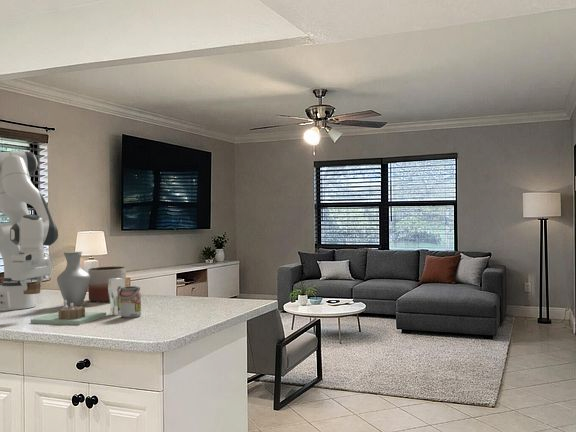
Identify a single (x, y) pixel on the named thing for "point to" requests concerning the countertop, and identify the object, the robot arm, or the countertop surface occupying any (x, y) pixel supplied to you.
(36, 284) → the gear
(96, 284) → the planter
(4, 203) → the robot arm
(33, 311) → the countertop surface
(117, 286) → the beer glass
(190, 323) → the countertop surface
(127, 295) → the beverage can
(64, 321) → the board
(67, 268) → the vase
